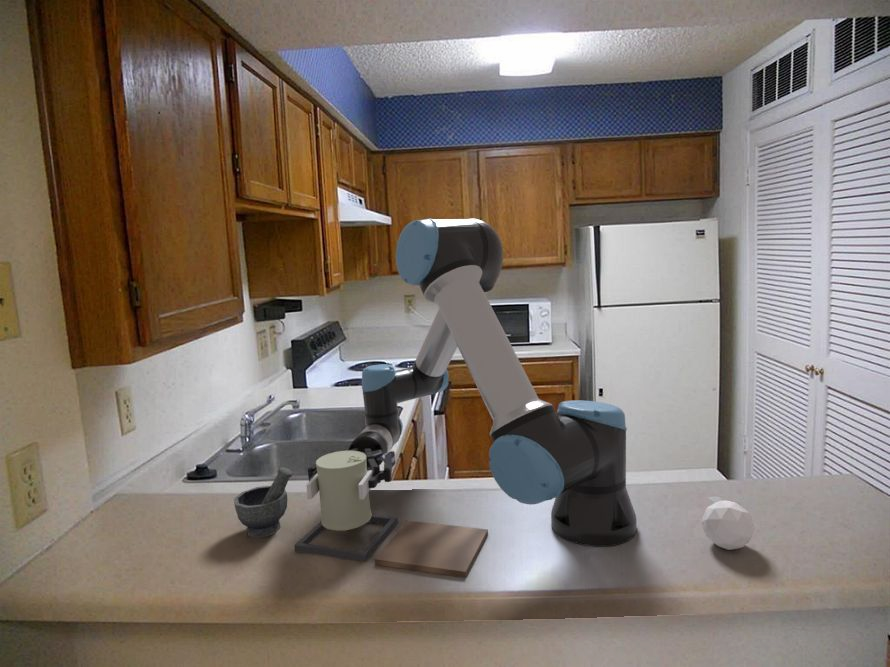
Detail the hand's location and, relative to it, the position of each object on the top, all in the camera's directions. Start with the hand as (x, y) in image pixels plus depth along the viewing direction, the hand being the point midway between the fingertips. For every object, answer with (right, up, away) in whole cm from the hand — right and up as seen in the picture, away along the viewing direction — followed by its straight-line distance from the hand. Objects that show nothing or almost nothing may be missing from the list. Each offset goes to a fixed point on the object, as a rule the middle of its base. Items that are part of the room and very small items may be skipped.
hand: (334, 491), depth 99 cm
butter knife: (+73, -7, +2) cm, 74 cm away
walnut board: (+17, -10, 0) cm, 20 cm away
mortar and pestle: (-15, -10, +11) cm, 21 cm away
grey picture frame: (+1, -10, +6) cm, 12 cm away
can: (+1, -7, +5) cm, 9 cm away
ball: (+67, -8, -4) cm, 67 cm away
